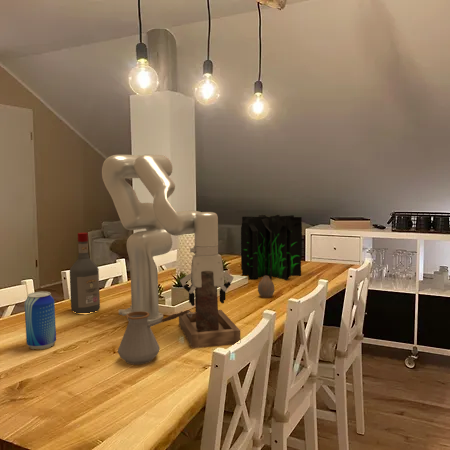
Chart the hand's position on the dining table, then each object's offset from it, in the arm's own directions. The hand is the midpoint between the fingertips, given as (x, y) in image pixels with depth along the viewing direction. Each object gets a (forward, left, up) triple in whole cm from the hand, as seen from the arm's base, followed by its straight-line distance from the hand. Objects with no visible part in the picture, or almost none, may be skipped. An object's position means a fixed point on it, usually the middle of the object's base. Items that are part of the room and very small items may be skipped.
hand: (207, 303), depth 156 cm
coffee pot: (-19, -19, -10) cm, 29 cm away
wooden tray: (0, 0, -10) cm, 10 cm away
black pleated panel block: (+51, +81, -10) cm, 96 cm away
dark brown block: (0, 0, -9) cm, 9 cm away
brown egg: (+34, +40, -10) cm, 53 cm away
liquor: (-39, +39, -10) cm, 56 cm away
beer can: (-51, +3, -10) cm, 52 cm away
